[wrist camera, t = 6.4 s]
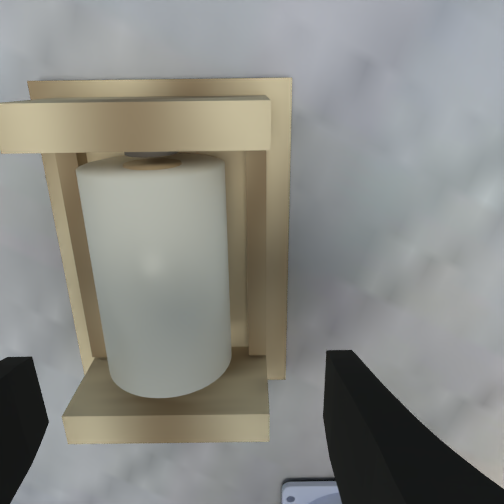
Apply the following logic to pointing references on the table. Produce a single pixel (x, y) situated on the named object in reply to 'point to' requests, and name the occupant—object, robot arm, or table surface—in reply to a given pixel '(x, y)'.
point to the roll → (160, 269)
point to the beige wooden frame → (238, 236)
